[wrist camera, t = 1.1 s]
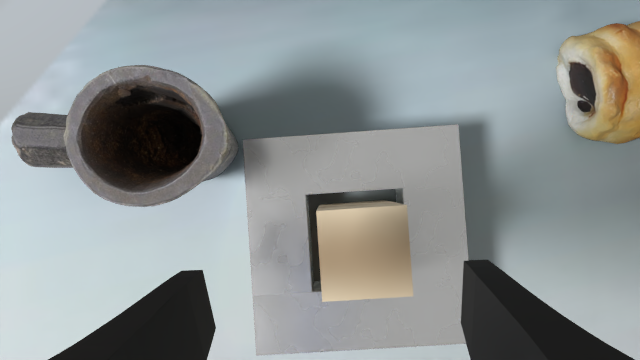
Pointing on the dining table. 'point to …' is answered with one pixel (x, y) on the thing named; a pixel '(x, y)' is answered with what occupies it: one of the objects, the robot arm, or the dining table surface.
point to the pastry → (602, 83)
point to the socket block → (295, 238)
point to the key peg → (364, 250)
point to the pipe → (132, 136)
